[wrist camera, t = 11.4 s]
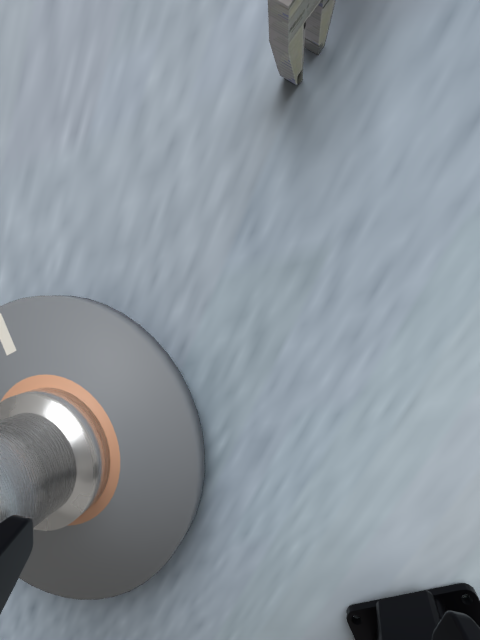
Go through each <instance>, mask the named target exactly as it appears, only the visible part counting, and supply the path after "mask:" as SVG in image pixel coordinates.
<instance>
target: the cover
mask: <svg viewBox="0 0 480 640" xmlns="http://www.w3.org/2000/svg"><path fill="white" fill-rule="evenodd" d="M109 474H110V450H109V445H108V441H107V438H106V435H105V432H104V430H103V428H102V426H101V424H100V422H99V420H98V419H97V417H96V416H95V414H94V413H93V412H92V410H91V409H90V408H89V407H88V406H87V405H86V404H85V403H84V402H83V401H81V400H80V399H79V398H77V397H76V396H74V395H73V394H71V393H69V392H66V391H64V390H61V389H57V388H50V387H45V388H37V389H33V390H30V391H27V392H24V393H21V394H18V395H15V396H12V397H9V398H7V399H5V400H3V401H1V402H0V522H2V521H3V520H5V519H6V518H8V517H9V516H12V515H21V516H25V517H29V518H31V519H32V520H33V529H35V530H41V531H51V530H57V529H60V528H63V527H65V526H67V525H69V524H70V523H72V522H73V521H74V520H76V519H77V518H78V517H79V516H80V515H81V514H83V513H84V512H85V511H86V510H87V509H89V508H90V507H91V506H92V505H93V504H94V503H95V502H96V501H97V500H98V499H99V497H100V496H101V495H102V493H103V491H104V489H105V487H106V484H107V482H108V478H109Z"/></svg>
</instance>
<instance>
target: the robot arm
mask: <svg viewBox="0 0 480 640" xmlns="http://www.w3.org/2000/svg"><path fill="white" fill-rule="evenodd" d="M32 548H33V520H32V519H31V518H29V517H25V516H21V515H12V516H9V517H8V518H6V519H5V520H3V521H2V522H0V614H1V612H2V610H3V608H4V606H5V604H6V602H7V600H8V598H9V596H10V594H11V592H12V590H13V588H14V586H15V584H16V582H17V580H18V578H19V576H20V574H21V572H22V570H23V568H24V566H25V564H26V562H27V560H28V558H29V556H30V554H31V552H32ZM464 594H468V595H470V596H469V597H468V598H463V597H462V595H464ZM354 615H357V616H359V617H360V618H355V617H353V616H354ZM347 622H348V624H349V626H350V629H351V631H352V633H353V635H354V638H355V640H480V600H479V598H478V596H477V594H476V592H475V590H474V589H473V587H471V586H470V585H468V584H465V583H459V584H454V585H449V586H444V587H439V588H434V589H429V590H424V591H419V592H414V593H409V594H404V595H399V596H394V597H389V598H384V599H379V600H374V601H369V602H364V603H359V604H354V605H351V606H349V607H348V608H347Z"/></svg>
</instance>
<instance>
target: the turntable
mask: <svg viewBox="0 0 480 640" xmlns="http://www.w3.org/2000/svg"><path fill="white" fill-rule="evenodd" d="M45 387H50V388H57V389H61V390H64V391H66V392H69V393H71V394H73V395H74V396H76V397H77V398H79V399H80V400H81V401H83V402H84V403H85V404H86V405H87V406H88V407H89V408H90V409H91V410H92V412H93V413H94V414H95V416H96V417H97V419H98V420H99V422H100V424H101V426H102V428H103V430H104V432H105V435H106V438H107V441H108V445H109V450H110V474H109V478H108V482H107V484H106V487H105V489H104V491H103V493H102V495H101V496H100V497H99V499H98V500H97V501H96V502H95V503H94V504H93V505H92V506H91V507H90V508H89V509H87V510H86V511H85V512H84V513H83V514H81V515H80V516H79V517H78V518H77V519H76V520H74V521H73V522H72V523H70V524H69V525H67V526H65V527H63V528H60V529H57V530H51V531H41V530H35V529H33V548H32V552H31V554H30V556H29V558H28V560H27V562H26V564H25V566H24V568H23V570H22V572H21V574H20V576H19V578H20V579H22V580H23V581H25V582H27V583H28V584H30V585H32V586H34V587H36V588H39V589H41V590H43V591H46V592H48V593H51V594H55V595H58V596H62V597H66V598H73V599H80V600H84V599H103V598H108V597H114V596H117V595H120V594H123V593H126V592H129V591H131V590H132V589H134V588H136V587H138V586H140V585H142V584H143V583H145V582H146V581H147V580H149V579H150V578H151V577H152V576H154V575H155V574H156V573H158V571H159V570H160V569H161V568H162V567H163V566H164V565H165V564H166V563H167V562H168V560H169V559H170V558H171V556H172V555H173V553H174V552H175V550H176V549H177V547H178V546H179V544H180V543H181V541H182V539H183V538H184V536H185V535H186V533H187V532H188V530H189V528H190V526H191V524H192V522H193V519H194V517H195V515H196V513H197V509H198V506H199V502H200V499H201V495H202V489H203V482H204V475H205V451H204V442H203V433H202V429H201V424H200V420H199V416H198V412H197V409H196V406H195V404H194V401H193V398H192V396H191V393H190V390H189V389H188V387H187V385H186V383H185V381H184V379H183V377H182V375H181V373H180V371H179V370H178V368H177V367H176V365H175V364H174V362H173V361H172V359H171V358H170V356H169V355H168V353H167V352H166V351H165V350H164V349H163V348H162V346H161V345H160V344H159V343H158V342H157V341H156V340H155V338H154V337H152V336H151V335H150V334H149V333H148V332H147V331H146V330H145V329H144V328H142V327H141V326H140V325H139V324H138V323H136V322H135V321H133V320H132V319H130V318H129V317H128V316H126V315H125V314H123V313H121V312H119V311H117V310H115V309H113V308H111V307H109V306H108V305H105V304H102V303H99V302H96V301H93V300H91V299H86V298H81V297H75V296H35V297H28V298H22V299H19V300H15V301H12V302H9V303H6V304H4V305H2V306H0V402H1V401H3V400H5V399H7V398H9V397H12V396H15V395H18V394H21V393H24V392H27V391H30V390H33V389H37V388H45Z"/></svg>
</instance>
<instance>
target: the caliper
mask: <svg viewBox="0 0 480 640" xmlns="http://www.w3.org/2000/svg"><path fill="white" fill-rule="evenodd" d="M335 1H336V0H268V17H269V41H270V45H271V48H272V51H273V55H274V58H275V61H276V65H277V68H278V71H279V73H280V76H282V77H284V78H285V79H287V80H289V81H290V82H292V83H294V84H295V85H297V84H299V83H300V82H301V81H302V80H303V60H304V47H305V48H306V49H308V50H310V51H312V52H313V53H315V54H317V55H319V53H320V52H321V50H322V49H323V47H324V45H325V42H326V37H327V33H328V29H329V25H330V21H331V17H332V13H333V9H334V5H335Z"/></svg>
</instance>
